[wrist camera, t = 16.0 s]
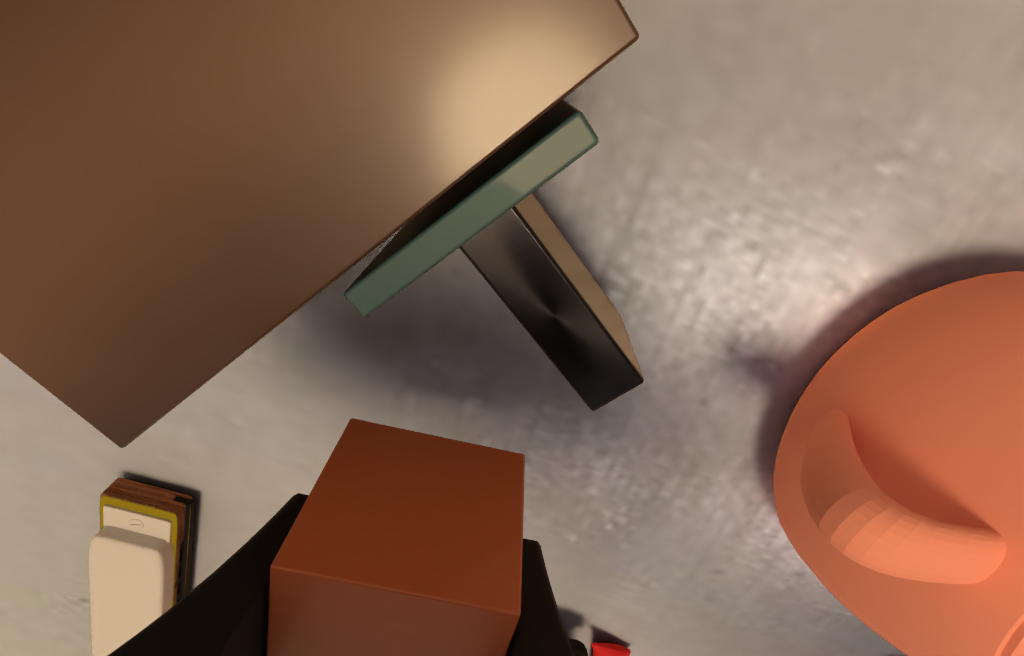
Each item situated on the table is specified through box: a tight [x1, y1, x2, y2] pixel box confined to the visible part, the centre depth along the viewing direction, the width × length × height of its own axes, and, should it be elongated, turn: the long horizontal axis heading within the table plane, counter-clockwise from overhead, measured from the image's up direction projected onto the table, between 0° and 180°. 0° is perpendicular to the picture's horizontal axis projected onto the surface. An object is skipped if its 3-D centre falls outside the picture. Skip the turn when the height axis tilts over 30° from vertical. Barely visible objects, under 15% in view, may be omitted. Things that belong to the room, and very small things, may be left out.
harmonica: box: [89, 478, 194, 656], centre depth 23 cm, size 15×3×2 cm, turn 162°
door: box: [344, 100, 644, 411], centre depth 13 cm, size 6×5×7 cm
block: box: [266, 419, 525, 656], centre depth 11 cm, size 4×4×4 cm
